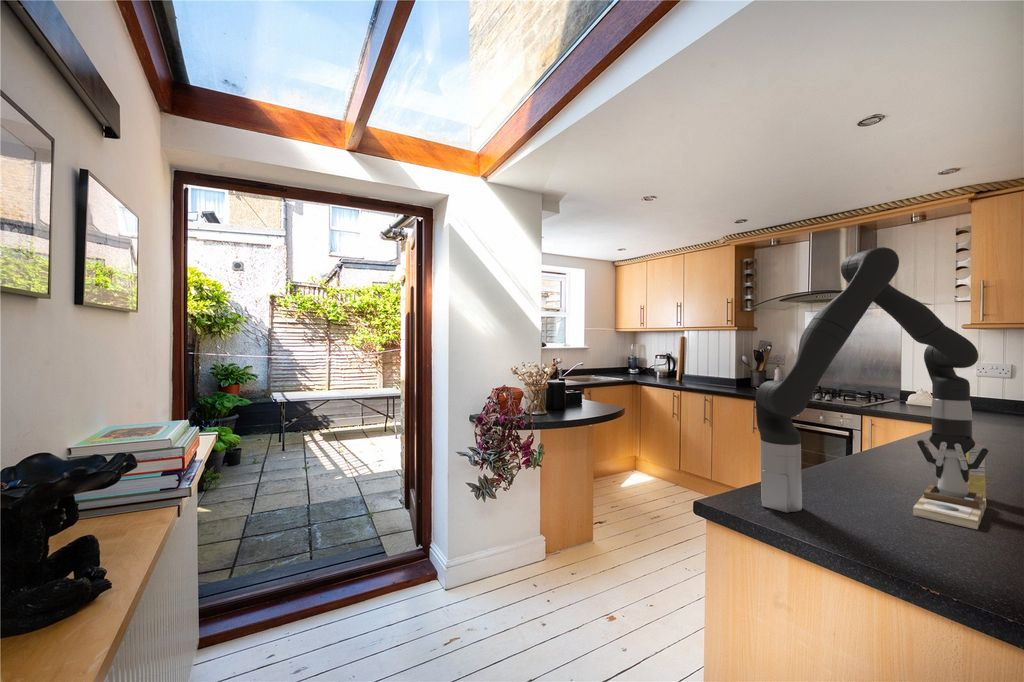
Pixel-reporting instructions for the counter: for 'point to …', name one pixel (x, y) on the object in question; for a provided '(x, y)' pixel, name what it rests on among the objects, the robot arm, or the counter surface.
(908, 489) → the counter surface
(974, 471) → the candy box
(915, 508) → the beige organizer tray
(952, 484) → the salt shaker
